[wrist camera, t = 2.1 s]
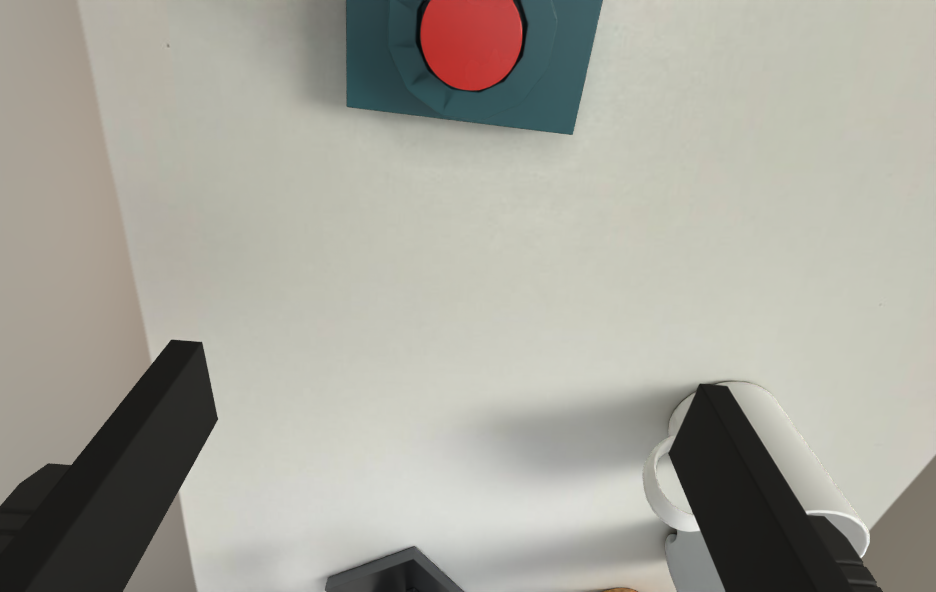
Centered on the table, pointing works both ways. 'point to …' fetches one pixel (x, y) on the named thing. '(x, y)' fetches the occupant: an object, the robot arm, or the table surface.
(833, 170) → the table surface
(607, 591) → the potted plant
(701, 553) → the bottle
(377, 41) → the teal button base
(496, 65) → the button
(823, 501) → the mug
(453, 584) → the lever stand
